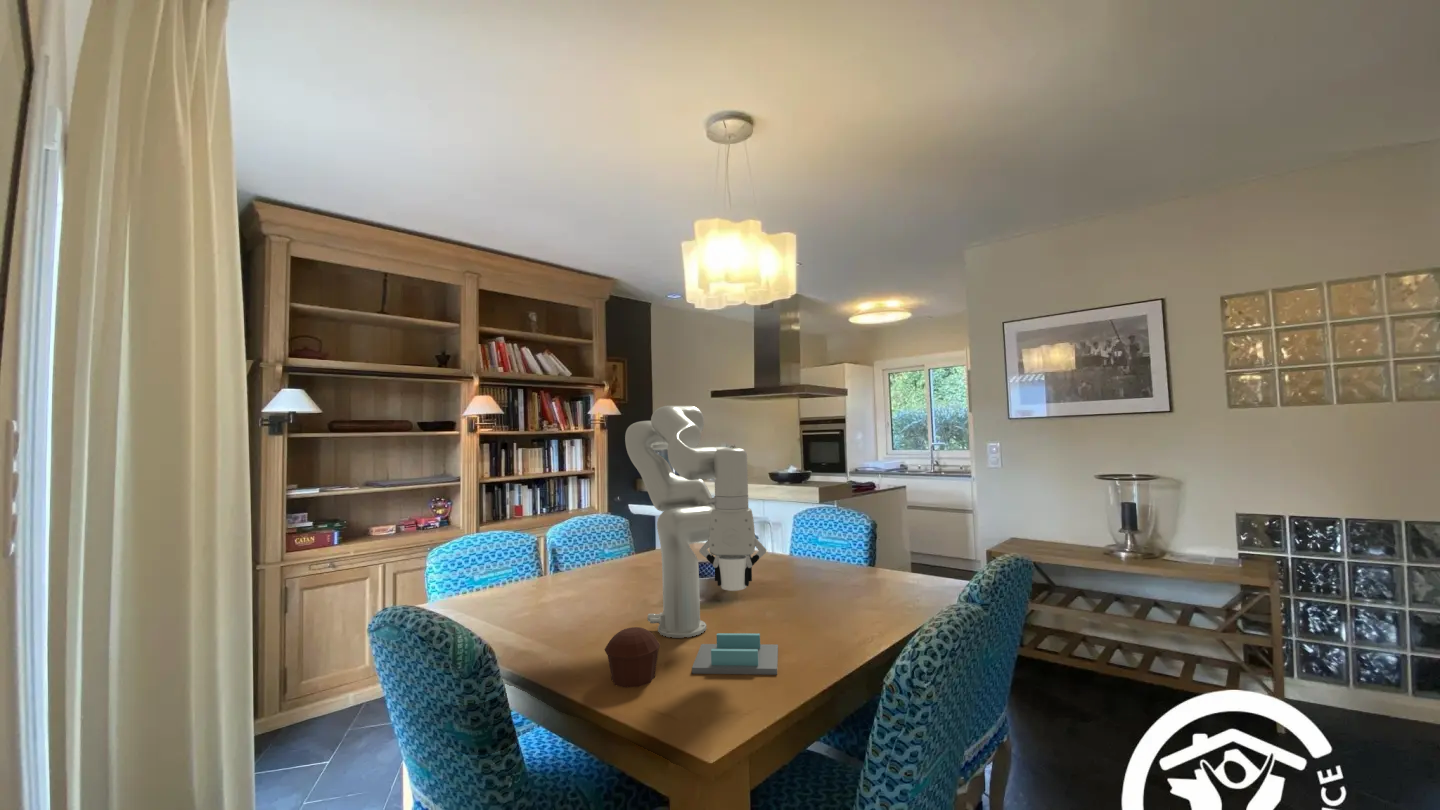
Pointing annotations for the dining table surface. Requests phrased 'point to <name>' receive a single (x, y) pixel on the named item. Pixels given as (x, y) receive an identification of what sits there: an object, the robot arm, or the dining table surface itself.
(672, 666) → the dining table surface
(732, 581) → the white cylinder
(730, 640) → the clip holder
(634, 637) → the muffin
